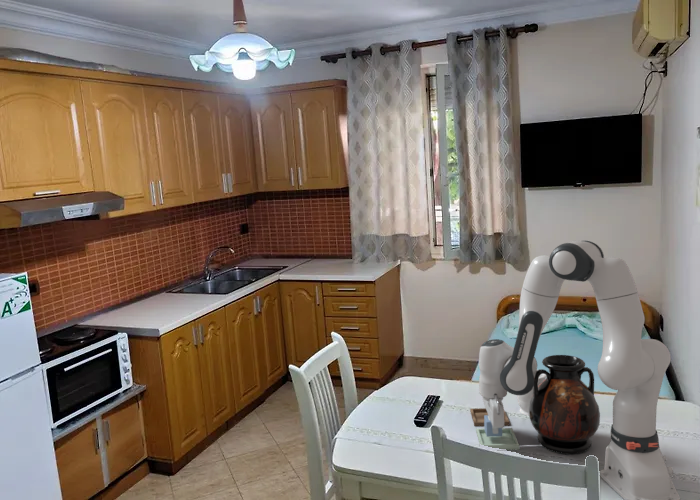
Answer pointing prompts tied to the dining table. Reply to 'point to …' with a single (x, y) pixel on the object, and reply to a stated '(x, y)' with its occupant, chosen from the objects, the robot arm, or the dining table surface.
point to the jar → (528, 397)
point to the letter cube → (490, 427)
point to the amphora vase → (564, 406)
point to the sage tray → (499, 439)
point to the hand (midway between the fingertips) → (493, 428)
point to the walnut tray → (479, 417)
